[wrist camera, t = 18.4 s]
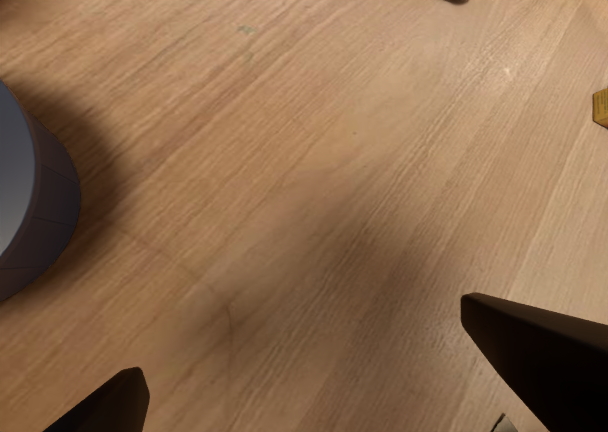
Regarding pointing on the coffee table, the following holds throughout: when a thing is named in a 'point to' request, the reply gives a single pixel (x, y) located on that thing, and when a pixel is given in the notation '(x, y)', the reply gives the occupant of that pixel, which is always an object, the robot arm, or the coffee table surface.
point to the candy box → (601, 107)
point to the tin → (44, 216)
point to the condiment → (505, 426)
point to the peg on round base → (16, 171)
